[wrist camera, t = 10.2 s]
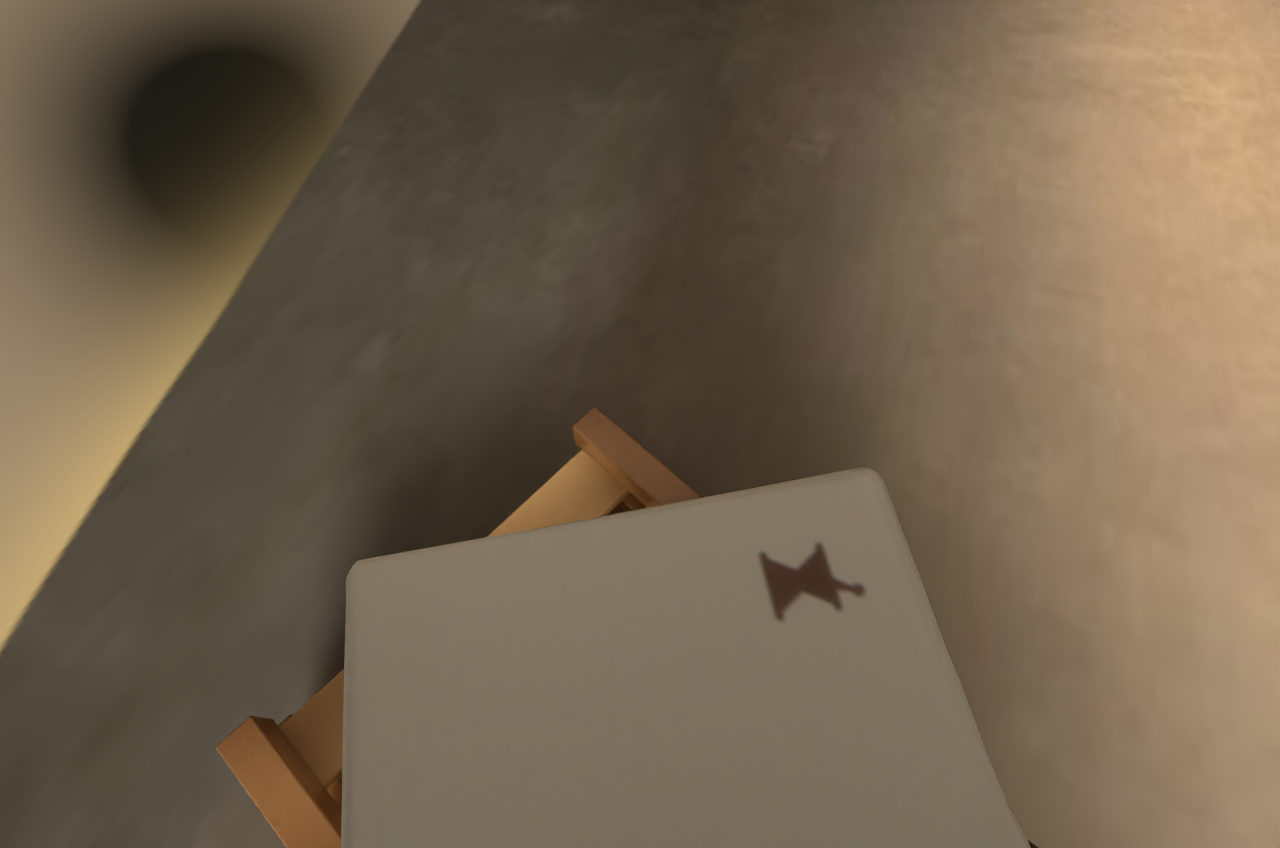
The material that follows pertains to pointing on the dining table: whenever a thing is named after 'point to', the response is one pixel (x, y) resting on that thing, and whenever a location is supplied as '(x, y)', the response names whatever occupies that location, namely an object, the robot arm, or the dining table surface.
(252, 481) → the dining table surface
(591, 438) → the rack
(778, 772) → the cosmetic box
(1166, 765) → the dining table surface
